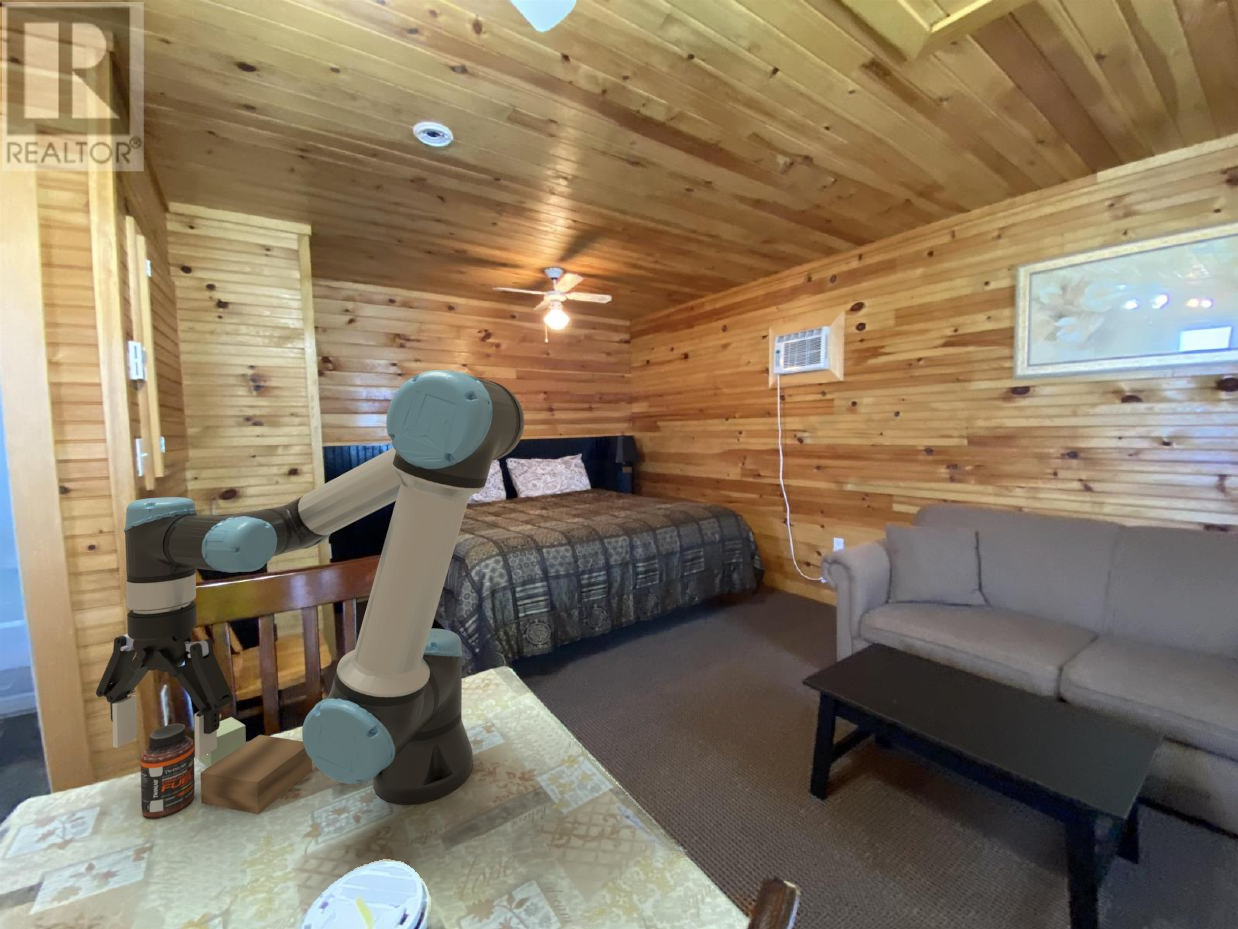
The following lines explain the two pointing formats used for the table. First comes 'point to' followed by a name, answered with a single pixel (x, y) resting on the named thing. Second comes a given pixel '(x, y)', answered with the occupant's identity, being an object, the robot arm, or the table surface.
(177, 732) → the supplement bottle
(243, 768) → the walnut block
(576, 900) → the table surface
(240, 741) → the sage block
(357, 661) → the robot arm
